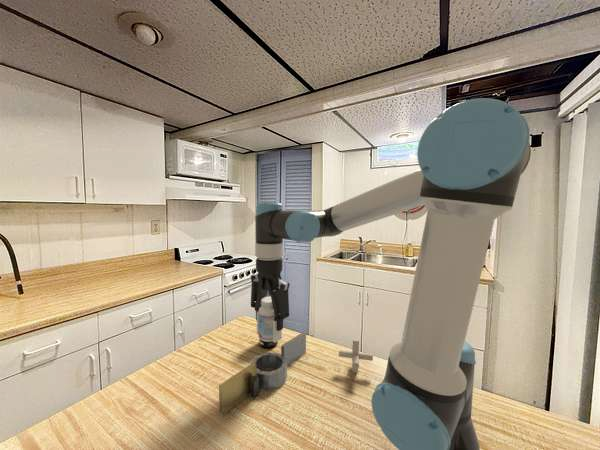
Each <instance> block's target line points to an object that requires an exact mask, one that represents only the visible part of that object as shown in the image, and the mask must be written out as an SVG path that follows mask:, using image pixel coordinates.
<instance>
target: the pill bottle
mask: <svg viewBox="0 0 600 450" xmlns="http://www.w3.org/2000/svg"><path fill="white" fill-rule="evenodd" d="M261 305H262V306H261V307H260V308H259V313H258V334H257V335H258V340H259V339H260V340H262V341H265V342H269V341H273V319H274V318H275V314H274V309H273V304H272V300H271V296H266V297H264V298H262V299H261Z"/></svg>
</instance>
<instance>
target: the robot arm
mask: <svg viewBox="0 0 600 450" xmlns="http://www.w3.org/2000/svg"><path fill="white" fill-rule="evenodd" d="M531 149H532V148H531V143H530V127H529V125H528V122H527V120H526V118H525V116H523V115H522V114H521V113H520V112H519V110H517V109H516V108H515V107H514V106H513V105H511V104H510V103H508V102H505V101H503V100H500V99H495V98H488V97H487V98H486V97H484V98H483V97H480V98H479V97H478V98H471V99H468V100H464V101H461V102H458V103H456V104H454V105H452V106H449V107H448V108H446V109H445V110H443V111H442V112H441V113H440V114H438V115H437V116H436V117H435V118H433V120H432V121H431V122H430V123H429V124H428V125H427V127H426V128H425V129H424V131H423V133H422V135H421V137H420V139H419V141H418V145H417V153H416V154H417V157H416V158H417V162H418V166H419V169H417V170H414V171H412V172H409V173H407V174H404V175H402V176H400V177H398V178H395V179H393V180H390V181H388V182H386V183H384V184H381V185H378V186H376V187H374V188H372V189H370V190H368V191H365V192H363V193H360V194H357V195H356V196H354V197H352V198H348V199H347V200H344V201H342V202H340V203H337V204H335V205H333V206H331V207H328V208H325V209H323V210H284V205H283V203H280V202H259V203H257V204H256V206H255V207H256V209H255V211H256V212H255V218H254V219H255V257H256V259H255V271H256V274H251V275H250V283H251V287H250V288H251V291H250V292H251V293H250V307H251V308H254V311H255V320H256V334H257V335H258V313H259V308H260V307H261V306H262V305H261V299H262V298H264V297H267V295H269V297H271V300H272V304H273V309H274V314H275V318H274V319H273V342H274V343H275V342H277V341H278V342H279V341H280V340H282V339H283V338H282V337H283V336H282V334H283V333H282V332H283V331H282V330H283V329H284V319H286V318H289V317H290V302H289V299H290V298H289V288H290V286H291V285H290V281H284V280H282V279H283V278H282V275H281V273H282V271H283V266H284V265H283V258H282V257H283V243H284V240H288V241H293V242H297V243H301V242H302V243H311V242H313V241H314V240H315V239H317V238H324V237H325V238H327V237H335V236H337V235H341V234H342V233H343V232H345V231H348V230H351V229H355V228H357V227H361V226H363V225H367V224H369V223H372V222H373V223H374V222H377V221H379V220H383V219H386V218H388V217H392V216H394V215H398V214H400V213H403V212H406V211H409V210H413V209H415V208H419V207H421V206H425V208H426V211H427V212H426V218H425V221H424V226H423V230H422V237H421V241H420V248H419V252H418V256H417V262H416V267H415V272H414V276H413V283H412V288H411V292H410V296H409V297H410V298H409V302H408V307H407V311H406V317H405V323H404V327H403V333H402V337H401V342H398V343H396V344H394V345H392V347H391V348H390V351H389V352H388V353H389V354H388V360H387V363H386V369H385V374H384V378H383V379H382V381H381V382H380V383H378V384H377V386H375V388H374V390H373V391H374V392H373V393H372V396H371V410H372V413H373V416H374V417H373V418H375V422H376V423H377V424H378V426H379V427H380V430H381V432H382V433H383V435H384V436H385V437H386V439H388V441H390V443H391V444H392V445H393V446H394V447H395V448H396V449H397V450H480V449H481V448H480V443H479V439H478V437H477V433H476V429H475V426H474V423H473V420H472V410H473V409H472V408H473V394H474V393H473V391H474V381H475V379H474V377H475V366H476V364H477V361H476V352H475V349H474V348H473V346H472V345H471V344H470V343H468V341H466V336H467V333H468V329H469V324H470V321H471V317H472V313H473V308H474V304H475V301H476V296H477V293H478V289H479V285H480V281H481V275H482V271H483V268H484V263H485V261H486V256H487V252H488V248H489V245H490V244H489V243H490V240H491V236H492V232H493V228H494V223H495V221H496V219H498V218H499V217H500V216H502V215H504V214H505V213H507V212H509V211H511V210H512V209H513V206H514V202H515V197H516V195H517V190H518V187H519V183H520V179H521V175H523V174H524V172H525V170H526V168H527V167H528V165H529V162H530V160H531V154H532V152H531V151H532V150H531Z"/></svg>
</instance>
